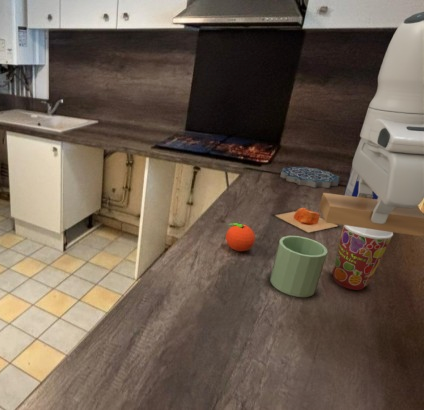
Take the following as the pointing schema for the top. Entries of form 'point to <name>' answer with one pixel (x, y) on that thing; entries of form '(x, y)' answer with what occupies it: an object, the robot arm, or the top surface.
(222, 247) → the top surface
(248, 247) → the clementine
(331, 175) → the decorative tile
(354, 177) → the milk carton
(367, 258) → the smoothie
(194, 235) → the top surface
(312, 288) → the cup
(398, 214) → the wooden block
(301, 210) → the salmon on cutting board
